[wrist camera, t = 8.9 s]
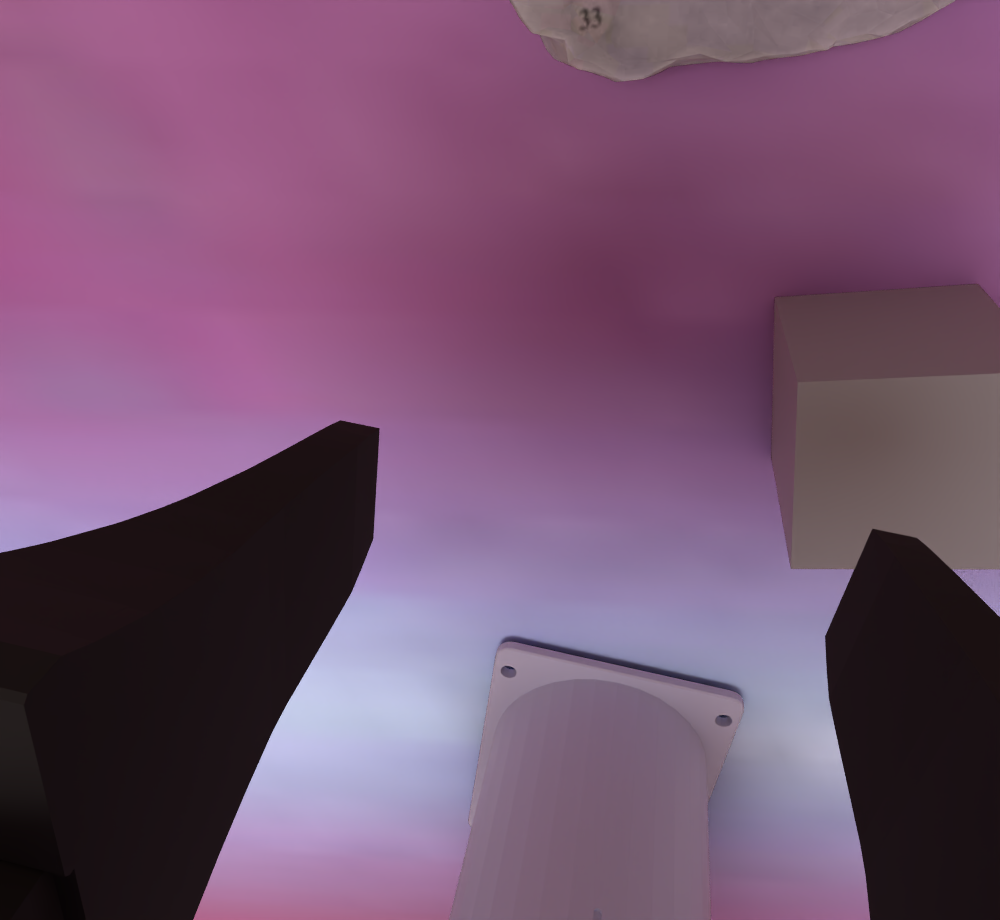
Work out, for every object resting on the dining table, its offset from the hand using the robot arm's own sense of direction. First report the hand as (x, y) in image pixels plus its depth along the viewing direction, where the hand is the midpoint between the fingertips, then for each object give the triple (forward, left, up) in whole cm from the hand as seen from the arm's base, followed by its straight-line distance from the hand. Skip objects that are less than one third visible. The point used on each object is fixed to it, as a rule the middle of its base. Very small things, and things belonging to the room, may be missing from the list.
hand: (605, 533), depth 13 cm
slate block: (-1, -6, -10) cm, 12 cm away
